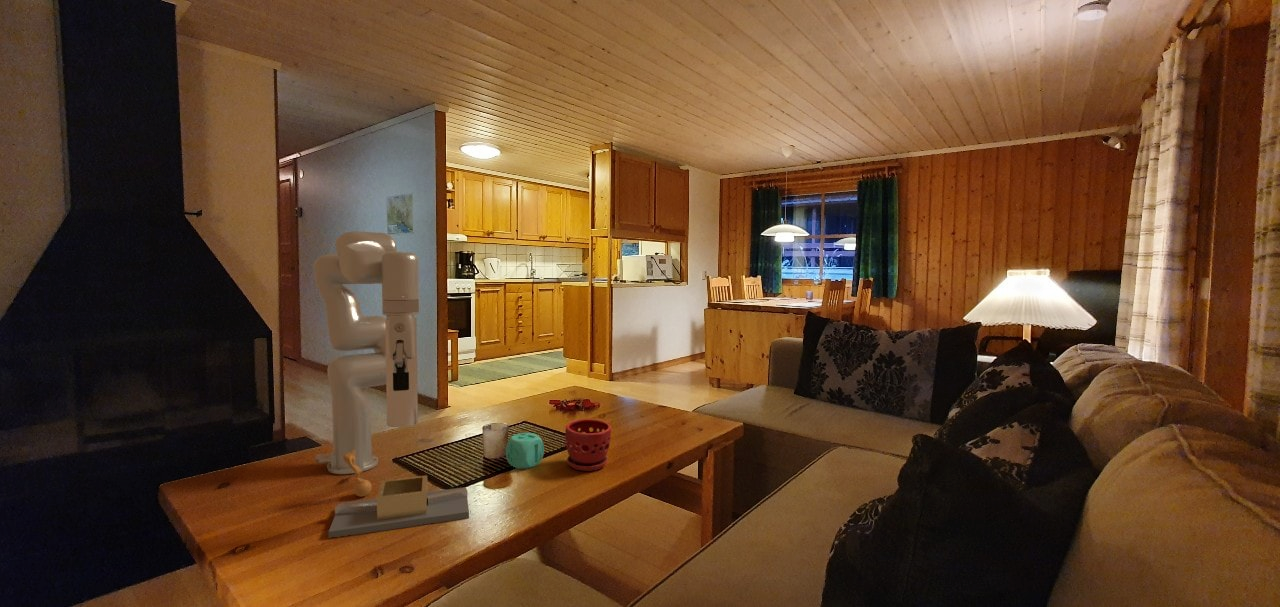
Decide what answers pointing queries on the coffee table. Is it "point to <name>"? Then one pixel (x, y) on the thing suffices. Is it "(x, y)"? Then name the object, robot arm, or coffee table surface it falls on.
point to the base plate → (369, 523)
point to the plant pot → (587, 444)
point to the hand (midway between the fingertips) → (402, 386)
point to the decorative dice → (524, 450)
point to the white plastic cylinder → (403, 402)
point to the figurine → (357, 476)
